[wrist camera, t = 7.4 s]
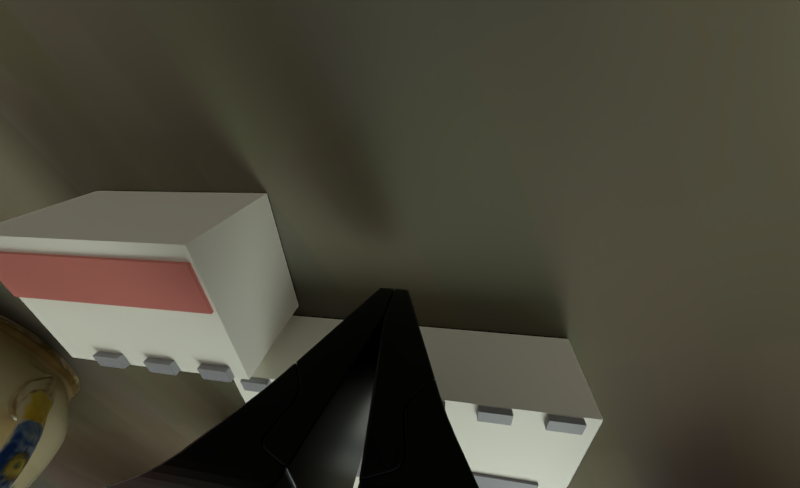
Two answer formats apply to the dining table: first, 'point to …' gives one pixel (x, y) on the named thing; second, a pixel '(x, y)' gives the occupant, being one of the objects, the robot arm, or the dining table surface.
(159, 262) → the white rectangular block
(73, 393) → the teapot
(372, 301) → the robot arm
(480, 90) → the dining table surface
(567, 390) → the cream slotted dispenser box
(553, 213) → the dining table surface
